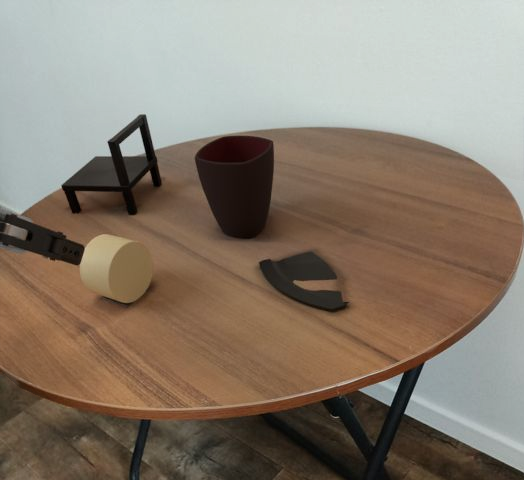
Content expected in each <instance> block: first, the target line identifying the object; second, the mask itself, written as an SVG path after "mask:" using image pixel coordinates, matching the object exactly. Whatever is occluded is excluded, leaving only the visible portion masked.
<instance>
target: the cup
mask: <svg viewBox="0 0 524 480" xmlns="http://www.w3.org/2000/svg"><path fill="white" fill-rule="evenodd" d="M194 163H195V166H196V171H197V172H196V173H197V175H198V178H199V182H200V185H201V187H202V190H203V193H204V196H205V199H206V200H207V204H208V206H209V208H210V211H211V213H212V215H213V217H214V219H215V221H216V223H217V224H218V227H219V228H220V230H221V232H222V233H223V234H225V235H226V236H229V237H232V238H233V237H234V238H238V239H252V238H254V237H256V236H257V235H258V234H260V233H261V232H262V231H263V230H264V229H265V227H266V225H267V221H268V217H269V213H270V208H271V202H272V201H271V200H272V192H273V191H272V190H273V184H274V183H273V182H274V173H275V171H274V170H275V145H274V141H273V140H272V139H269V138H265V137H262V136H253V135H224V136H221V137H218V138H216V139H214V140H212V141H210V142H208V143H207V144H205V145H203V146H201V148H199V150H198V151H197V152H196V153H195V155H194Z"/></svg>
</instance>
